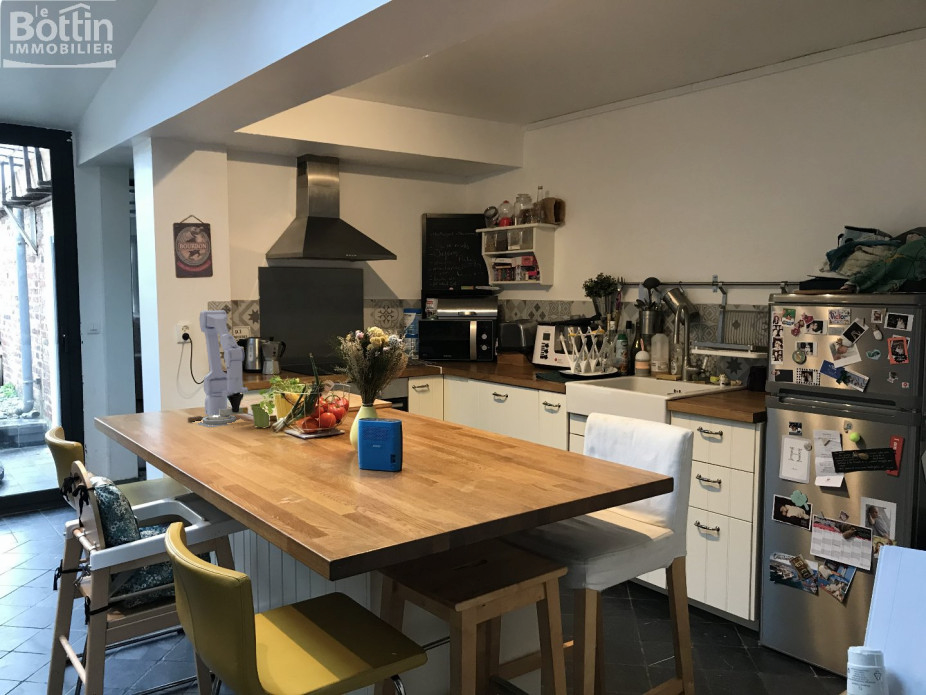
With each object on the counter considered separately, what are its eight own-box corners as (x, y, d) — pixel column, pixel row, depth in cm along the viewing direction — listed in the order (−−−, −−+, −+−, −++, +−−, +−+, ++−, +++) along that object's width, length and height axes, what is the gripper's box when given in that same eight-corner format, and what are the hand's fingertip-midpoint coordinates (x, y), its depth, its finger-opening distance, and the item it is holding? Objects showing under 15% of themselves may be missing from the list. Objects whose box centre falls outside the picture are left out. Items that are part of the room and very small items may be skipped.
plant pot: (269, 424, 291) (268, 402, 290) (280, 427, 284) (279, 405, 283) (246, 427, 285) (246, 404, 284) (257, 430, 278) (256, 407, 277)
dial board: (186, 423, 292) (186, 418, 292) (228, 417, 305) (227, 412, 305) (210, 429, 280) (209, 423, 280) (252, 423, 293) (252, 417, 293)
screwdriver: (190, 422, 290) (189, 417, 290) (187, 422, 291) (187, 417, 291) (218, 418, 299) (217, 413, 299) (215, 418, 300) (215, 413, 300)
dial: (211, 423, 287) (210, 411, 287) (206, 420, 294) (206, 408, 294) (250, 420, 295) (249, 408, 294) (245, 417, 302) (244, 405, 301)
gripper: (233, 380, 285) (234, 415, 286) (253, 376, 299) (254, 410, 299) (217, 379, 287) (218, 414, 288) (238, 376, 301) (239, 409, 301)
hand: (235, 412), depth 294 cm, fingers closed, pressing on dial
